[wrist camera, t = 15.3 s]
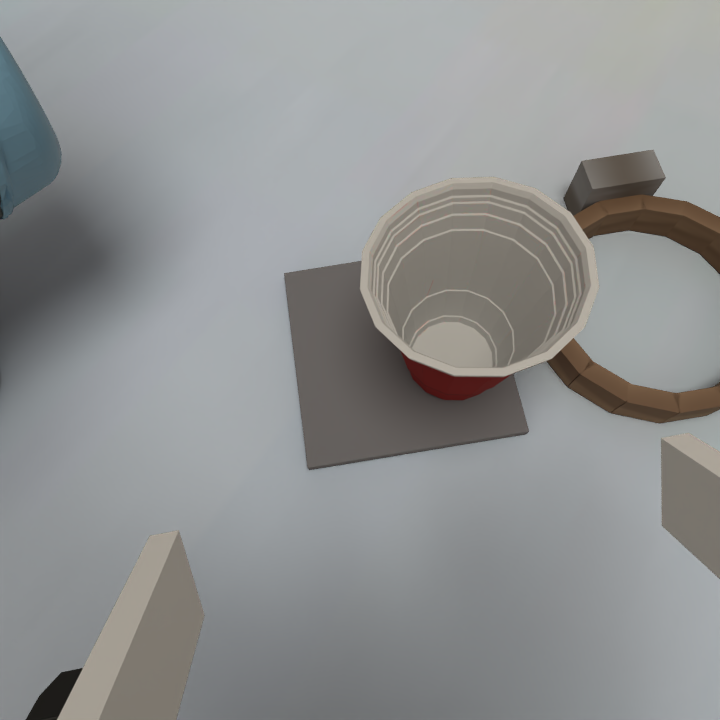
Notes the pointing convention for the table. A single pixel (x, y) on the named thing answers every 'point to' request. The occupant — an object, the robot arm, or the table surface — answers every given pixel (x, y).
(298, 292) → the rubber pad
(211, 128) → the table surface
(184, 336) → the table surface
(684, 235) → the walnut collar
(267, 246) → the table surface
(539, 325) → the plastic cup
